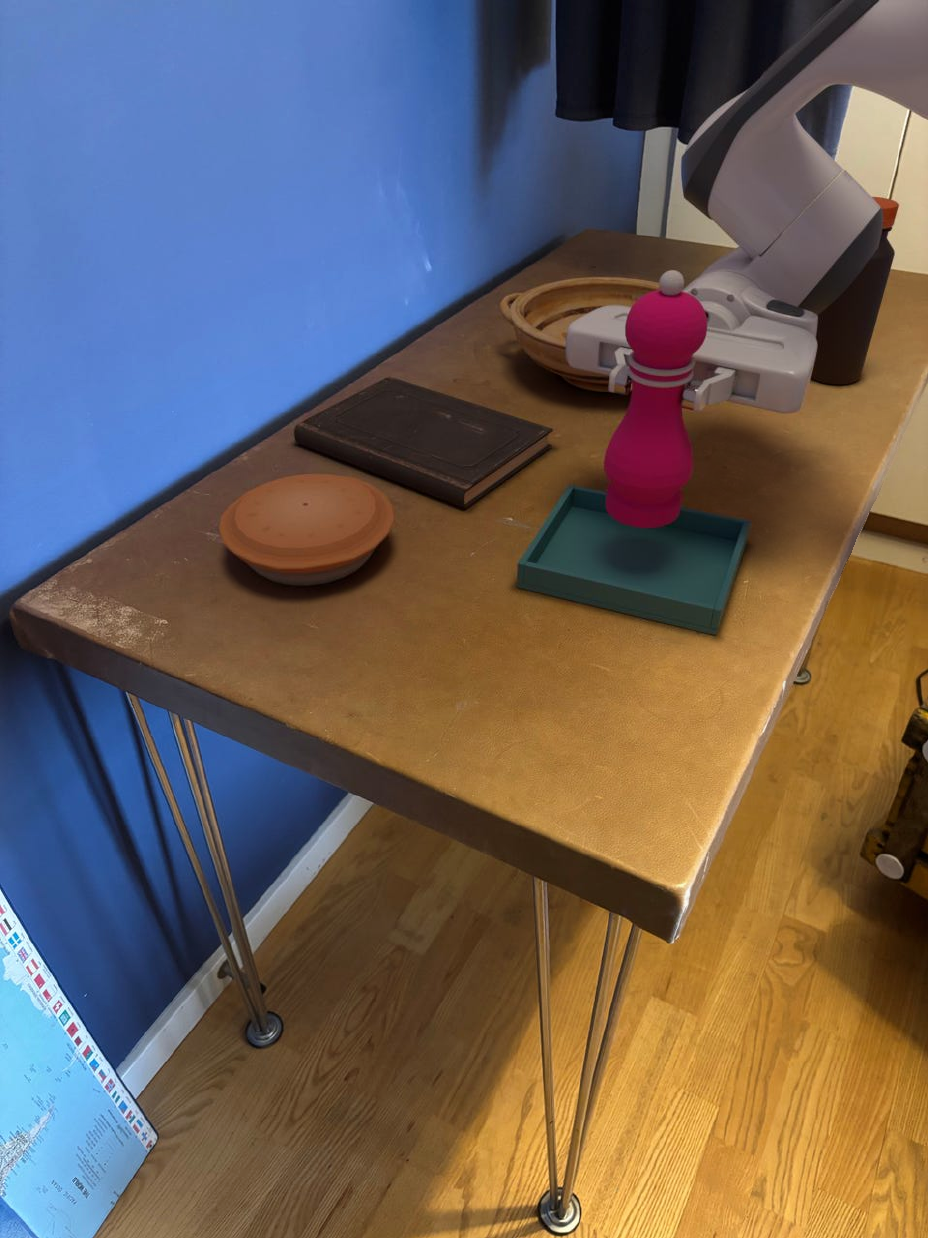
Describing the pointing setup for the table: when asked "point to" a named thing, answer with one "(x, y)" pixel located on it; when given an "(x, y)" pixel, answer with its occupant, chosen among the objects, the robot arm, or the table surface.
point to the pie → (307, 527)
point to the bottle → (854, 313)
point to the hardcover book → (425, 439)
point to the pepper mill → (655, 407)
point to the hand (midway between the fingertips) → (654, 392)
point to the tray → (636, 561)
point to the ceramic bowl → (566, 319)
